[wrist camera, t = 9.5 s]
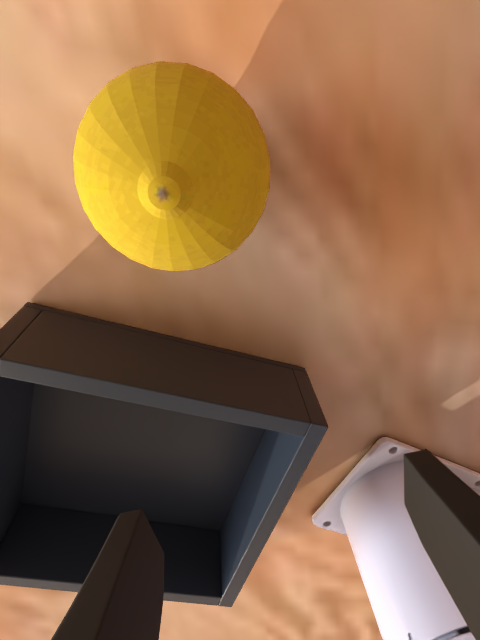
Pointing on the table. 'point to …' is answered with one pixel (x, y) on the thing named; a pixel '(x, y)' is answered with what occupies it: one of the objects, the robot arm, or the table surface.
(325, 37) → the table surface
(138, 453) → the bin
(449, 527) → the robot arm
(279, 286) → the table surface
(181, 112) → the lemon
